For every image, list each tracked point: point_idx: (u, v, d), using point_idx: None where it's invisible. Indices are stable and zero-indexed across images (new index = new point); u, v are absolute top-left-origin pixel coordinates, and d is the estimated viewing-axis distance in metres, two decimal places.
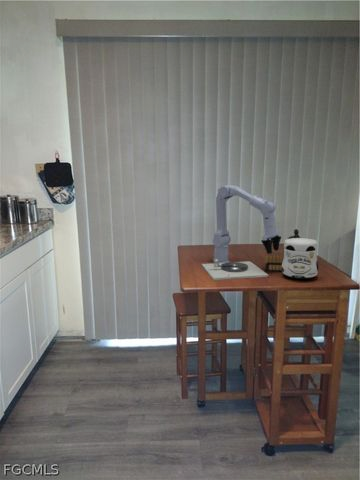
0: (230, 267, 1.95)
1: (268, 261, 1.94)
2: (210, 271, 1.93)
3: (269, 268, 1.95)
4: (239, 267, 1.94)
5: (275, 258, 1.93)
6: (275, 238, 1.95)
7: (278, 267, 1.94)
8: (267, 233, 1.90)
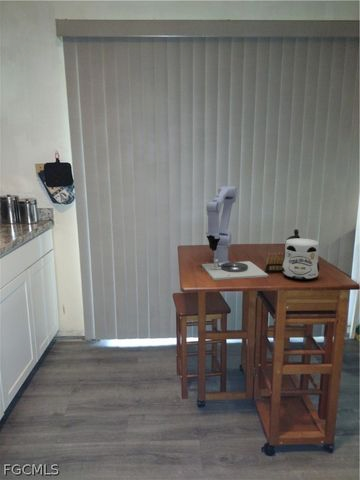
0: (230, 267, 1.95)
1: (269, 262, 1.92)
2: (210, 271, 1.93)
3: (269, 268, 1.94)
4: (239, 267, 1.94)
5: (276, 260, 1.91)
6: None
7: (278, 267, 1.94)
8: None
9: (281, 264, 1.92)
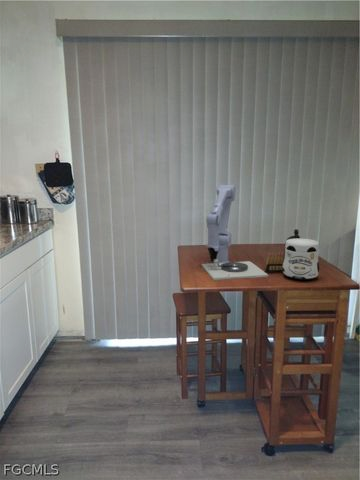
0: (230, 267, 1.95)
1: (269, 262, 1.92)
2: (210, 271, 1.93)
3: (269, 268, 1.94)
4: (239, 267, 1.94)
5: (276, 260, 1.91)
6: None
7: (278, 267, 1.94)
8: None
9: (281, 264, 1.92)
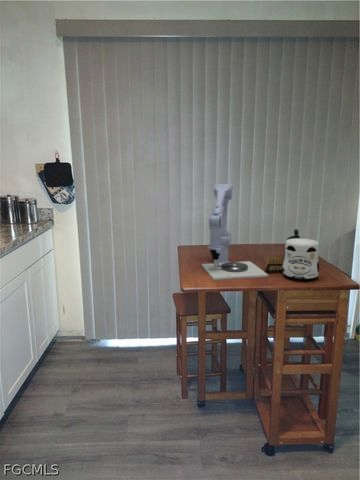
0: (230, 267, 1.95)
1: (269, 263, 1.92)
2: (210, 271, 1.93)
3: (269, 269, 1.94)
4: (239, 267, 1.94)
5: (276, 260, 1.91)
6: None
7: (278, 267, 1.94)
8: None
9: (281, 264, 1.92)
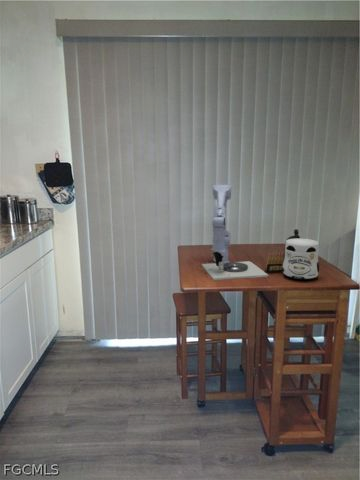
0: (234, 267, 1.94)
1: (269, 263, 1.92)
2: (210, 271, 1.93)
3: (269, 269, 1.94)
4: (242, 267, 1.95)
5: (276, 260, 1.91)
6: None
7: (278, 267, 1.94)
8: None
9: (281, 264, 1.92)
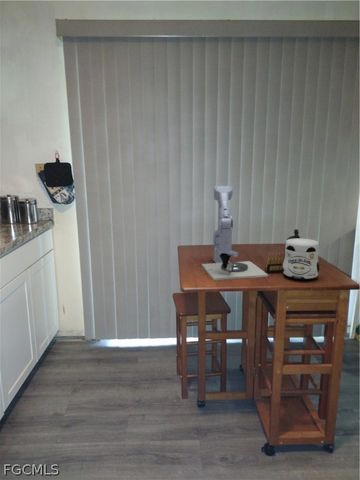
0: (238, 267, 1.94)
1: (269, 263, 1.92)
2: (210, 271, 1.93)
3: (270, 269, 1.93)
4: (242, 265, 1.97)
5: (277, 260, 1.91)
6: None
7: (278, 267, 1.94)
8: None
9: (282, 264, 1.92)
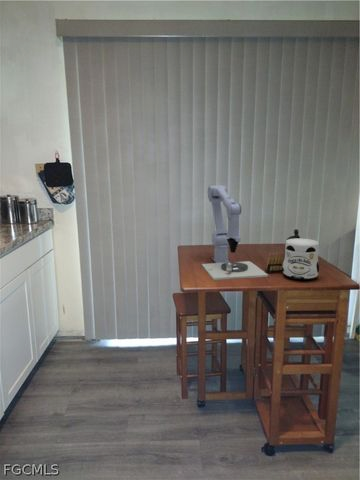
0: (238, 267, 1.94)
1: (270, 263, 1.91)
2: (210, 271, 1.93)
3: (270, 269, 1.93)
4: (242, 265, 1.97)
5: (277, 260, 1.91)
6: None
7: (278, 267, 1.94)
8: None
9: (282, 264, 1.92)
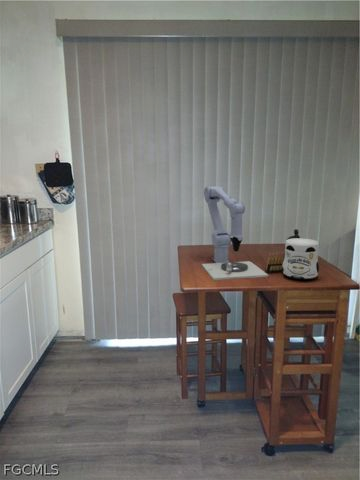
0: (238, 267, 1.94)
1: (270, 263, 1.91)
2: (210, 271, 1.93)
3: (270, 269, 1.93)
4: (242, 265, 1.97)
5: (277, 259, 1.91)
6: None
7: (278, 267, 1.94)
8: None
9: (282, 264, 1.93)
